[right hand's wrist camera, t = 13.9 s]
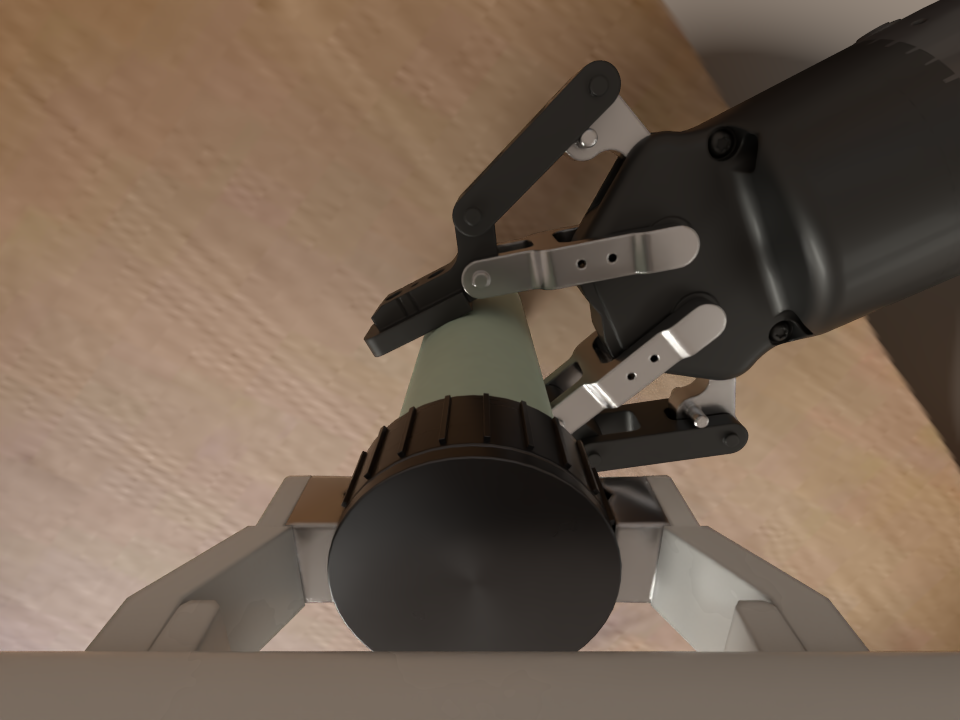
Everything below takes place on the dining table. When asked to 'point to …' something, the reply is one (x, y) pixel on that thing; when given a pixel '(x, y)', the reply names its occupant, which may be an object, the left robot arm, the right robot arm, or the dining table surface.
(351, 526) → the lid
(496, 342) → the green bottle
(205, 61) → the dining table surface
